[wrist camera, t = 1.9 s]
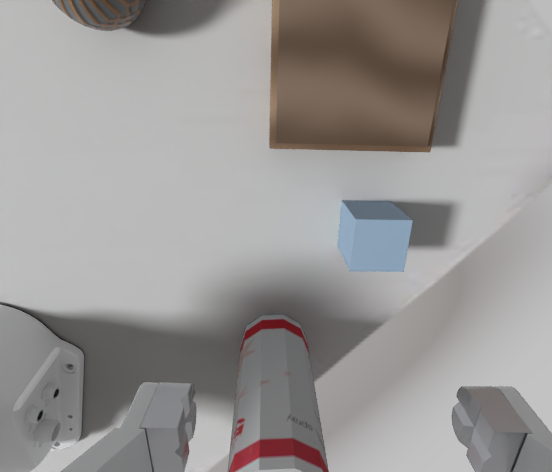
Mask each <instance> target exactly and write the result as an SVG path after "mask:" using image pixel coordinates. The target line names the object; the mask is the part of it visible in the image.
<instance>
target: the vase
mask: <svg viewBox="0 0 552 472" xmlns="http://www.w3.org/2000/svg"><path fill="white" fill-rule="evenodd" d="M52 1H53V2H54V4H55V5H56V6H57V7H58V8H59V9H60V10H61V11H62V12H64V13H65V14H66V15H67V16H69V17H70V18H71V19H73V20H74V21H76V22H78V23H80V24H82V25H84V26H87V27H90V28H93V29H97V30H103V31H113V30H118V29H121V28H124V27H126V26H128V25H129V24H131V23H132V22H133V21H134V20H135V19H136V18H137V17H138V16H139V14H140V13H141V11H142V9H143V6H144V3H145V0H52Z"/></svg>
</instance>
